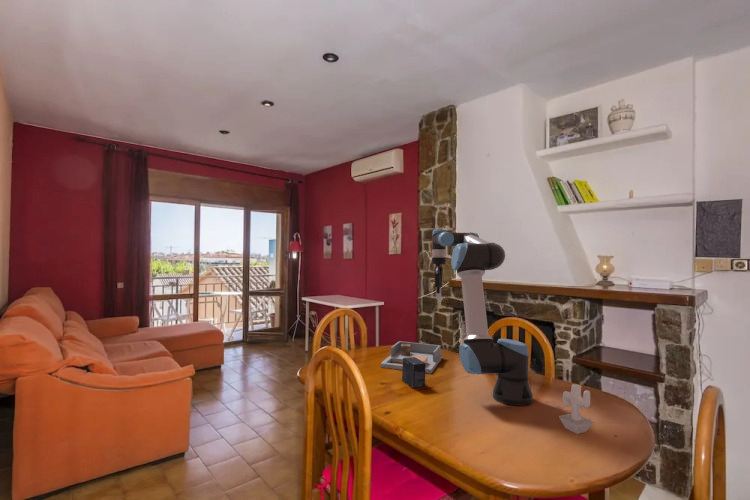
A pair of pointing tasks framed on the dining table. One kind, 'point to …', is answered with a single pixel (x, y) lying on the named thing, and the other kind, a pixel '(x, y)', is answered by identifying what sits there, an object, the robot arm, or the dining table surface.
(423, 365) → the box
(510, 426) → the dining table surface
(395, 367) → the cubby deck
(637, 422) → the dining table surface
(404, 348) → the walnut block
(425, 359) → the terracotta tile
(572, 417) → the figurine
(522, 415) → the dining table surface
